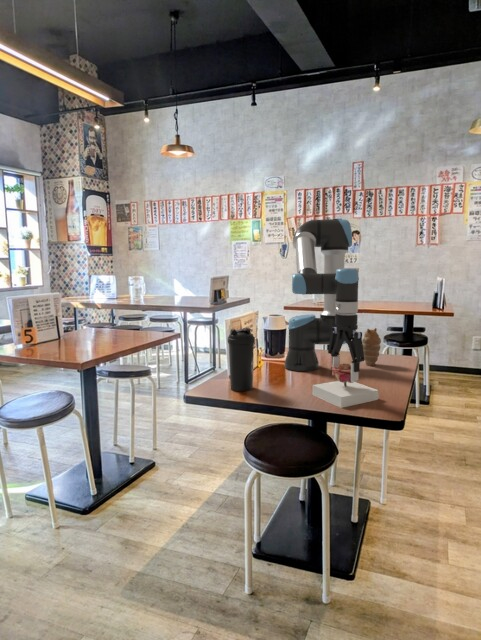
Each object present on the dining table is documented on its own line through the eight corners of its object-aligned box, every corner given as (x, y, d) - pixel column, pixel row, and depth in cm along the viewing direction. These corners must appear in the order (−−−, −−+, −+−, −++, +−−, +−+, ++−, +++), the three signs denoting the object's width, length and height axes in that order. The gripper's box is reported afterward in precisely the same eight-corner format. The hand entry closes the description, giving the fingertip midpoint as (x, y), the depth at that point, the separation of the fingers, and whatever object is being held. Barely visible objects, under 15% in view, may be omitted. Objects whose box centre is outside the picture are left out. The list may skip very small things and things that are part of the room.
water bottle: (257, 391, 169) (256, 330, 166) (230, 392, 167) (229, 331, 164) (252, 383, 179) (251, 326, 176) (226, 385, 177) (225, 327, 174)
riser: (312, 395, 162) (312, 385, 162) (347, 389, 169) (347, 379, 169) (341, 408, 148) (341, 397, 148) (378, 401, 155) (378, 390, 155)
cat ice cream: (369, 370, 197) (370, 330, 194) (356, 367, 204) (357, 327, 201) (384, 368, 201) (385, 328, 199) (371, 364, 208) (372, 326, 206)
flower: (359, 389, 153) (359, 366, 152) (331, 389, 154) (331, 366, 154) (357, 382, 162) (357, 360, 161) (331, 382, 164) (330, 360, 163)
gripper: (318, 311, 163) (317, 371, 166) (359, 318, 143) (357, 386, 146) (334, 309, 166) (333, 369, 169) (377, 316, 147) (375, 383, 150)
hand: (344, 377), depth 158 cm, fingers closed on flower, 9 cm apart
